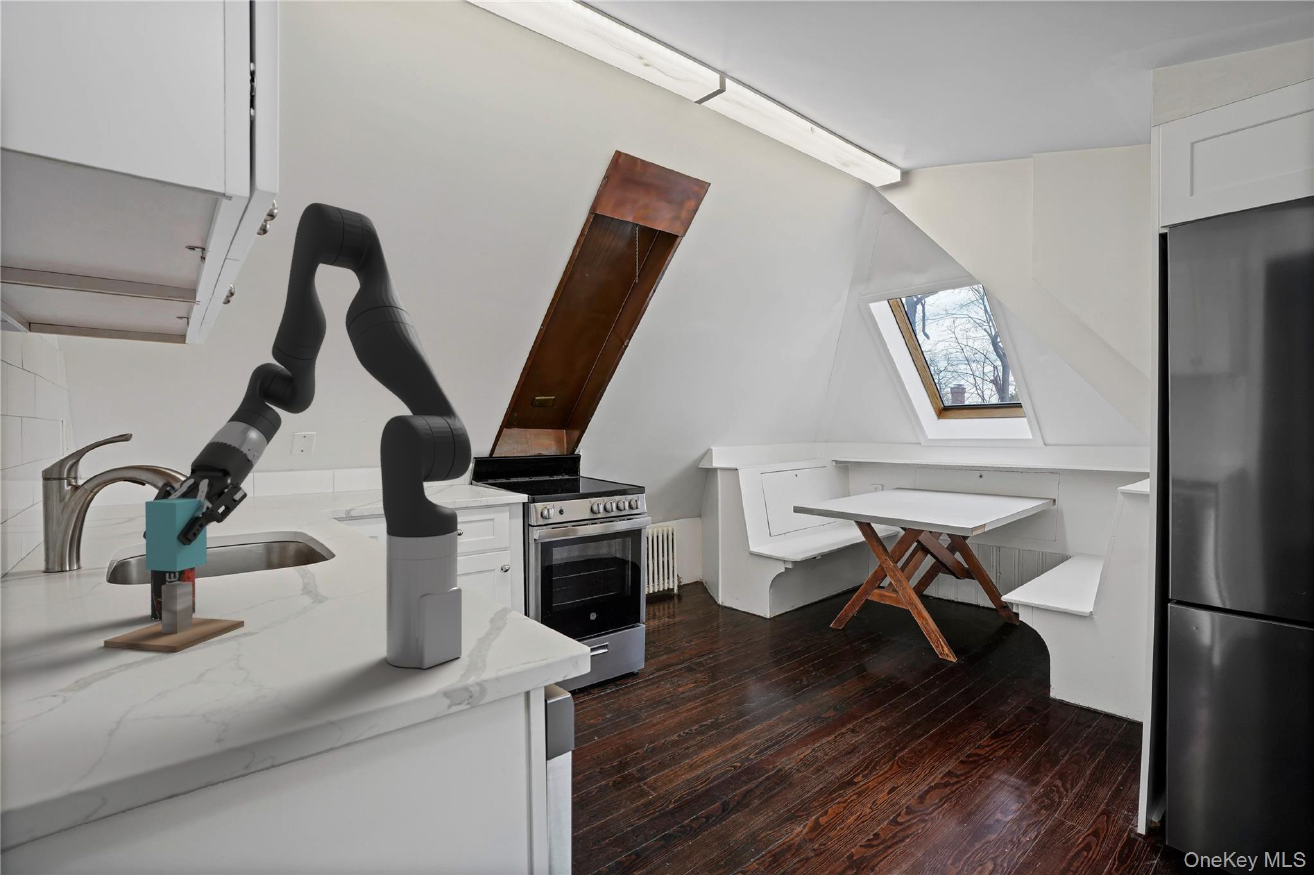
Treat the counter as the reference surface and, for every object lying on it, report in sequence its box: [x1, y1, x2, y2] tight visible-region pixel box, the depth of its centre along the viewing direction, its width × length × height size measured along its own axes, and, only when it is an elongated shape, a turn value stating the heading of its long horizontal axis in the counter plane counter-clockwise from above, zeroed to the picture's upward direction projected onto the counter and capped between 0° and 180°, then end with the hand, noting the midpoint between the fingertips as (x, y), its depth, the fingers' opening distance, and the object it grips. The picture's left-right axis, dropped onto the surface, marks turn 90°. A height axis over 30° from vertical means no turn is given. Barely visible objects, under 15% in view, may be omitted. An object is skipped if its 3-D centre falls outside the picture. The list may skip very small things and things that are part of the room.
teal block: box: [144, 498, 208, 571], centre depth 98 cm, size 5×5×10 cm
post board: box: [103, 581, 245, 653], centre depth 99 cm, size 12×12×8 cm
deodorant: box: [150, 567, 196, 621], centre depth 109 cm, size 6×6×15 cm
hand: (165, 541), depth 97 cm, fingers closed on teal block, 5 cm apart
